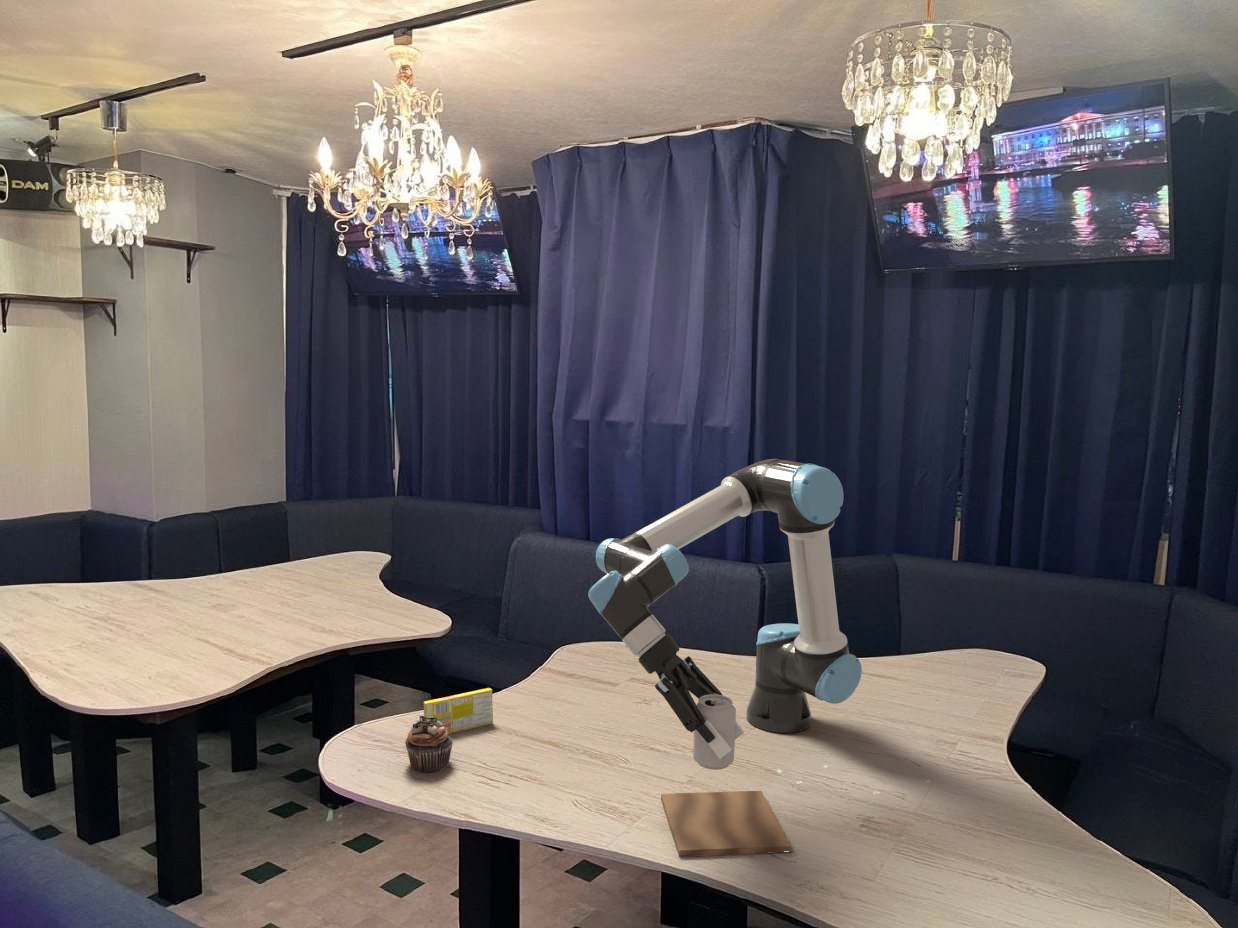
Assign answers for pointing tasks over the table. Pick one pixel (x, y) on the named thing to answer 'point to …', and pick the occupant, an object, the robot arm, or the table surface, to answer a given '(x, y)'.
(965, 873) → the table surface
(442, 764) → the cupcake
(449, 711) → the candy box
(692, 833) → the walnut board
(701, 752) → the can
